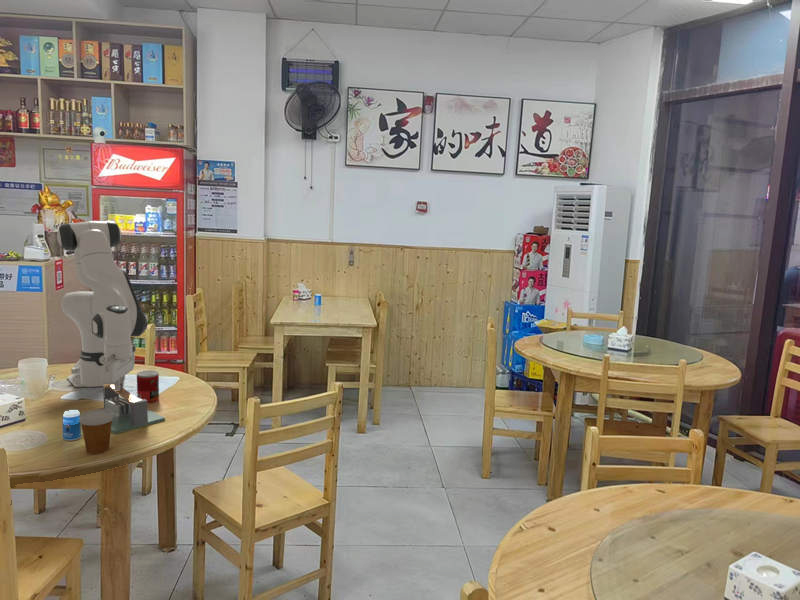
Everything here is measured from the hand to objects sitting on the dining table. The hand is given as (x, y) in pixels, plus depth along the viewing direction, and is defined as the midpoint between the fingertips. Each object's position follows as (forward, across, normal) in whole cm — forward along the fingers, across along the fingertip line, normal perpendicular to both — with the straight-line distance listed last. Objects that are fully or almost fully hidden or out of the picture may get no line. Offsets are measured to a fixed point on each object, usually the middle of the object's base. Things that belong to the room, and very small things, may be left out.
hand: (119, 389), depth 211 cm
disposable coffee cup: (+11, -29, -4) cm, 32 cm away
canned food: (+10, +19, -4) cm, 22 cm away
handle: (+2, -2, -3) cm, 4 cm away
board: (+10, -1, -2) cm, 11 cm away
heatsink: (+10, -2, -2) cm, 11 cm away
